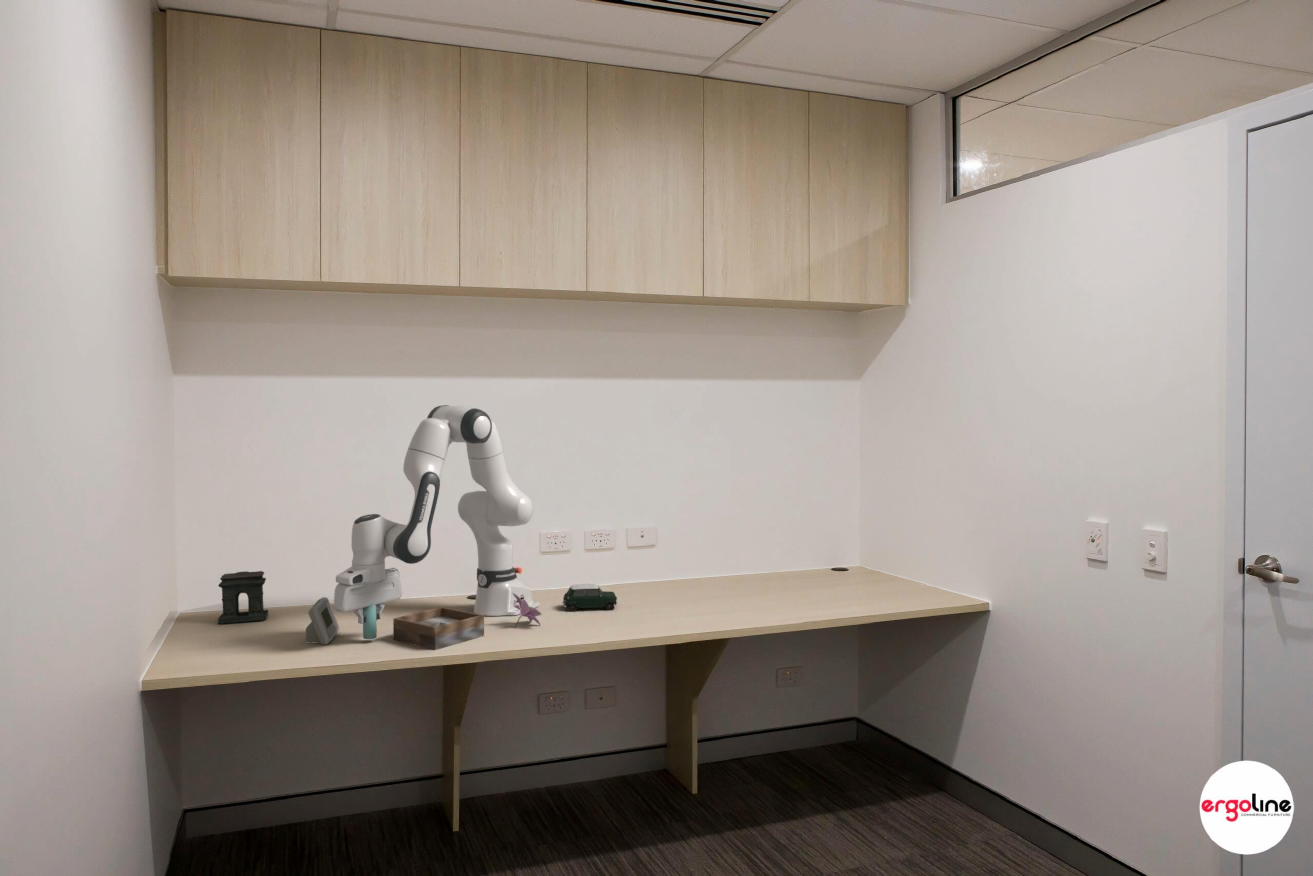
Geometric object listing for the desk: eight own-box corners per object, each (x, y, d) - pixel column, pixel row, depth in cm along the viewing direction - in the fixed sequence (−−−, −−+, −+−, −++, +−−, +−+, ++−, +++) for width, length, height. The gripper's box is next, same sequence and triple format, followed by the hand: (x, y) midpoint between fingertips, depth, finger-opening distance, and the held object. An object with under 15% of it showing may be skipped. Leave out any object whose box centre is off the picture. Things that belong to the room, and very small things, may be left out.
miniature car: (618, 610, 284) (618, 586, 284) (563, 612, 281) (563, 588, 281) (615, 604, 293) (615, 581, 293) (561, 606, 290) (561, 582, 290)
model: (268, 614, 276) (267, 568, 276) (267, 621, 268) (266, 573, 267) (220, 618, 271) (219, 571, 271) (217, 625, 263) (216, 576, 262)
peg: (371, 635, 248) (370, 600, 247) (379, 637, 246) (378, 602, 245) (360, 637, 245) (359, 602, 244) (368, 640, 243) (367, 604, 242)
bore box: (442, 626, 262) (442, 606, 262) (484, 635, 252) (484, 615, 252) (393, 639, 248) (393, 618, 247) (435, 649, 237) (435, 628, 237)
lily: (541, 635, 257) (551, 604, 261) (503, 621, 255) (515, 590, 259) (533, 637, 268) (543, 607, 272) (497, 624, 266) (508, 594, 269)
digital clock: (327, 646, 240) (326, 608, 240) (295, 646, 241) (294, 608, 240) (349, 631, 256) (349, 595, 256) (319, 631, 257) (319, 595, 256)
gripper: (392, 565, 254) (393, 611, 255) (330, 577, 238) (331, 627, 239) (406, 567, 251) (406, 615, 251) (344, 580, 234) (345, 630, 235)
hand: (369, 621), depth 245 cm, fingers closed on peg, 4 cm apart
